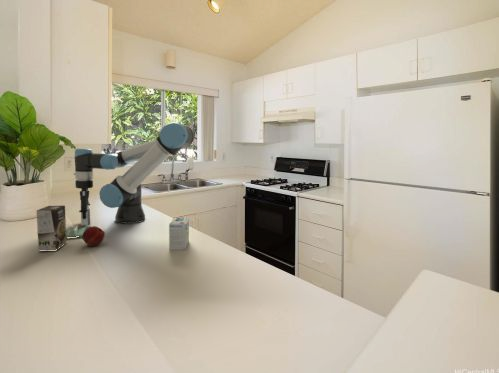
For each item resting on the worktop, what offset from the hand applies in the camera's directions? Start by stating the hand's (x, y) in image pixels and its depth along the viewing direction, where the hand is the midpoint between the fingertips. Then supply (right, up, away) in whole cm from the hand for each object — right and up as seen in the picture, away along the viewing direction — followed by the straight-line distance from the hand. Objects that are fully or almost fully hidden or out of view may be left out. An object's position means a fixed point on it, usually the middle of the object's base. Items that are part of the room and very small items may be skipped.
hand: (85, 221), depth 141 cm
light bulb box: (+54, -7, -24) cm, 59 cm away
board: (+5, -4, -15) cm, 17 cm away
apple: (+20, -6, -28) cm, 35 cm away
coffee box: (+7, -7, -32) cm, 33 cm away
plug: (0, -2, 0) cm, 2 cm away
